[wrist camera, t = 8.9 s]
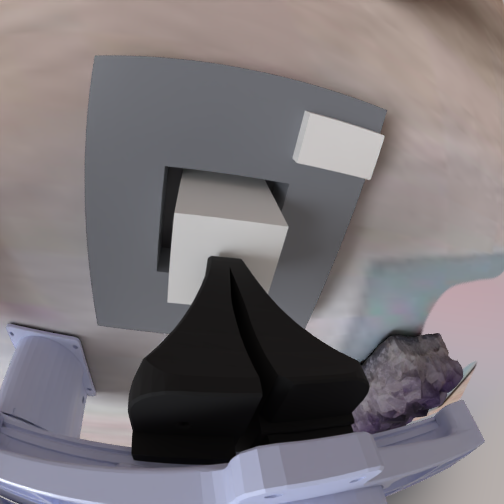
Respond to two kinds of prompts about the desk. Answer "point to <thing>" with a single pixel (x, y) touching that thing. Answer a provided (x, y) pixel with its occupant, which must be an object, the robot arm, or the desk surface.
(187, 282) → the plug
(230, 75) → the socket plate
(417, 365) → the geode
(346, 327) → the desk surface
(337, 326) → the desk surface
